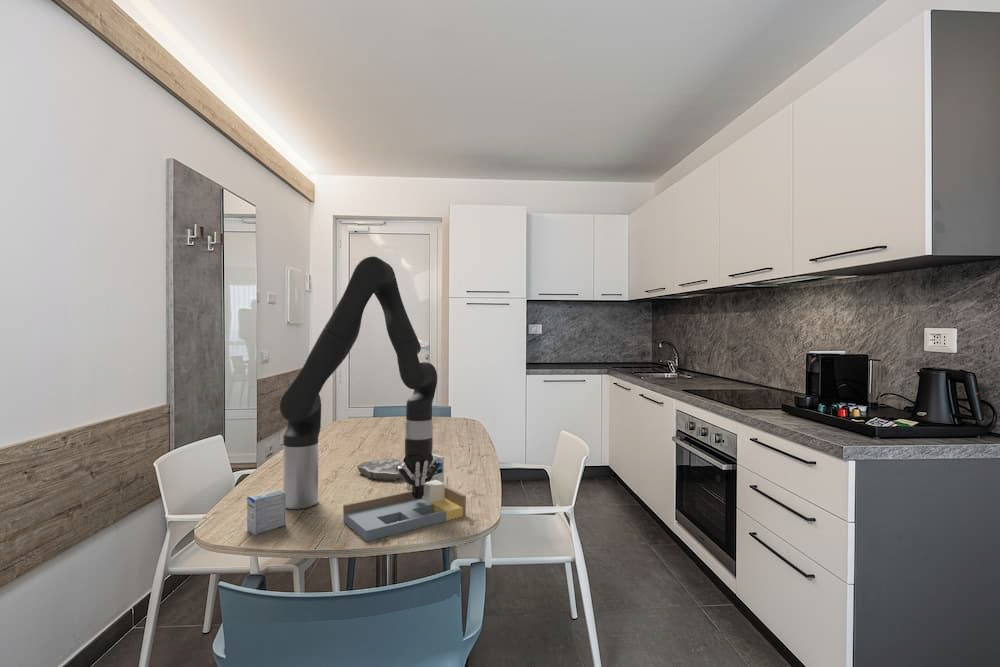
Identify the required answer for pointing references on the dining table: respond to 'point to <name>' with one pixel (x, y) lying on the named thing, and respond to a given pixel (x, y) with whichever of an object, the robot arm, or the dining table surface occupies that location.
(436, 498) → the ivory block
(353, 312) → the robot arm
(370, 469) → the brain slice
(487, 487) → the dining table surface
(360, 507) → the trap deck
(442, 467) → the light bulb box
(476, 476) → the dining table surface
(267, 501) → the medicine box
